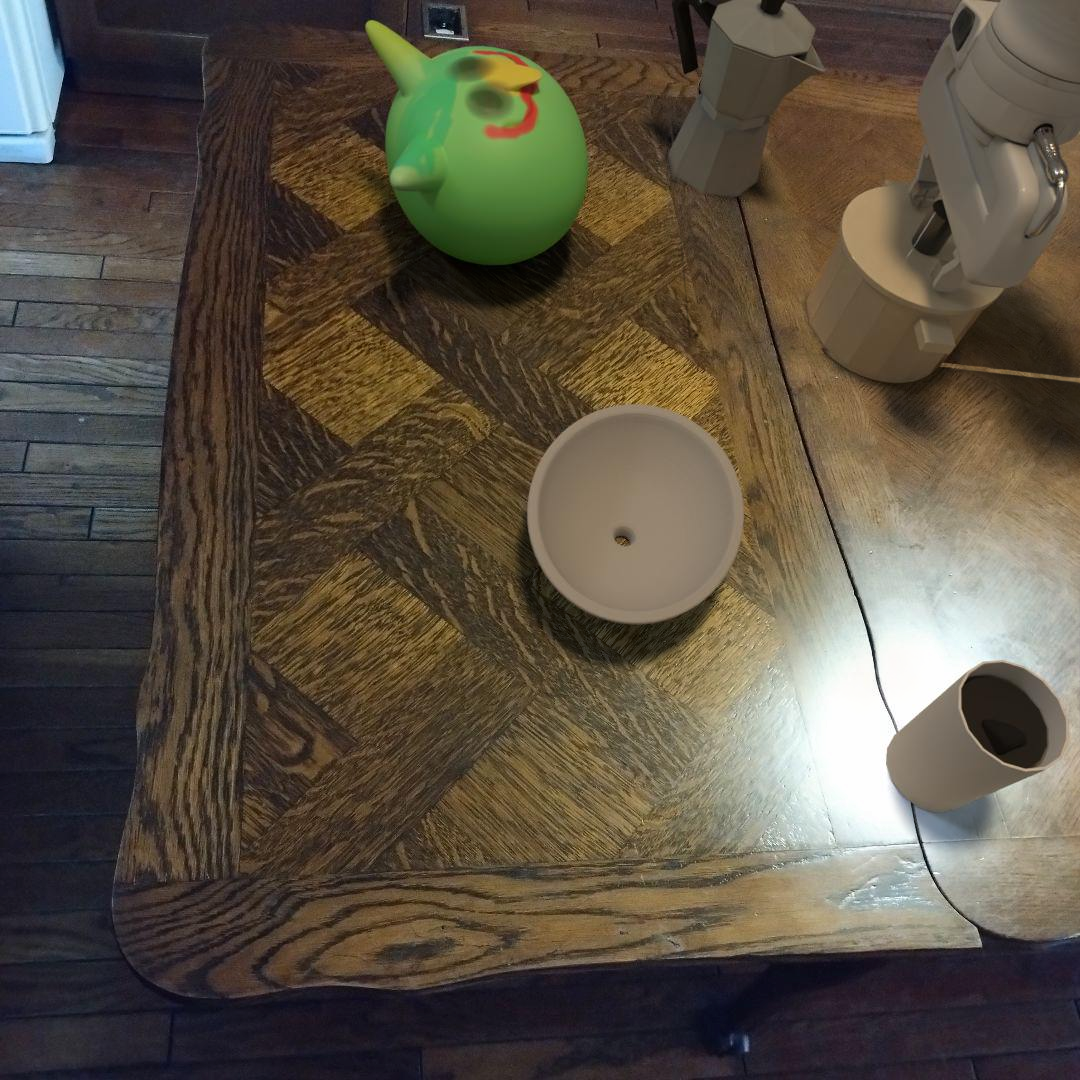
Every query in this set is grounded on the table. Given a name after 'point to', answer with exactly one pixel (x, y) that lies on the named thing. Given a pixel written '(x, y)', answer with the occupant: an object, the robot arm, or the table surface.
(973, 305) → the lid
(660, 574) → the dish
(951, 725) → the grey cup
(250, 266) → the table surface
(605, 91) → the table surface
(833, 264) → the pot
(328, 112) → the table surface
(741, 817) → the table surface
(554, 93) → the toy bird
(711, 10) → the coffee maker
